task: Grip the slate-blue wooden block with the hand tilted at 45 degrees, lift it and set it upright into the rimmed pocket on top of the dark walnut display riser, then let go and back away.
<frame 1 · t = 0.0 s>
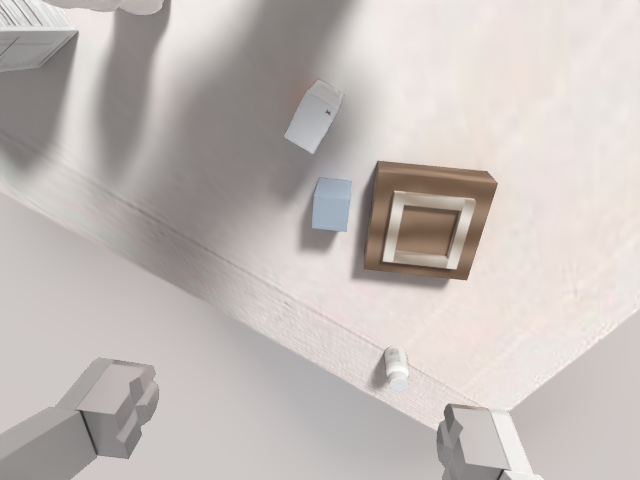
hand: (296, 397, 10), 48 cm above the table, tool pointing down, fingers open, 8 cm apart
display riser: (421, 215, 59), on the table
pill bottle: (395, 352, 74), on the table
skincare box: (320, 106, 53), on the table
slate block: (334, 194, 59), on the table
supplement box: (34, 18, 51), on the table
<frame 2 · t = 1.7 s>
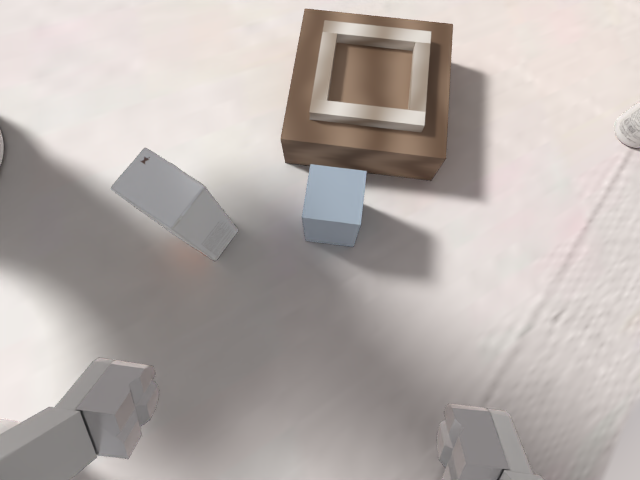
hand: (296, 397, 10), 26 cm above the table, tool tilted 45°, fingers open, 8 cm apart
display riser: (365, 108, 43), on the table
pill bottle: (630, 132, 42), on the table
skincare box: (206, 232, 39), on the table
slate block: (332, 221, 39), on the table
water bottle: (10, 455, 34), on the table
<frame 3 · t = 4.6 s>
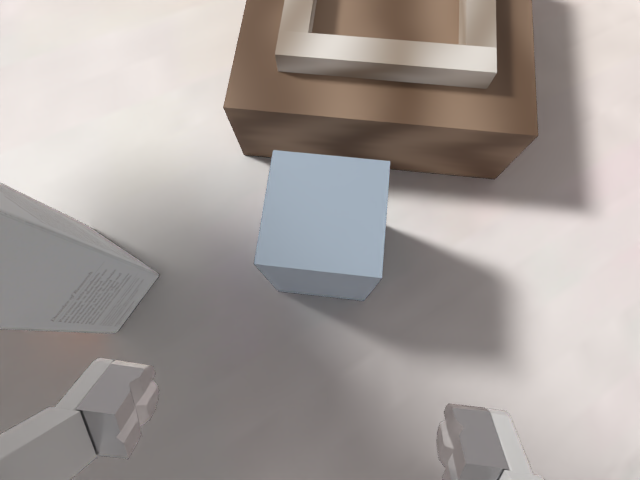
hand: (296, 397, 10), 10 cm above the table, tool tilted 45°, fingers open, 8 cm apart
display riser: (376, 63, 26), on the table
skincare box: (104, 279, 22), on the table
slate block: (325, 254, 22), on the table
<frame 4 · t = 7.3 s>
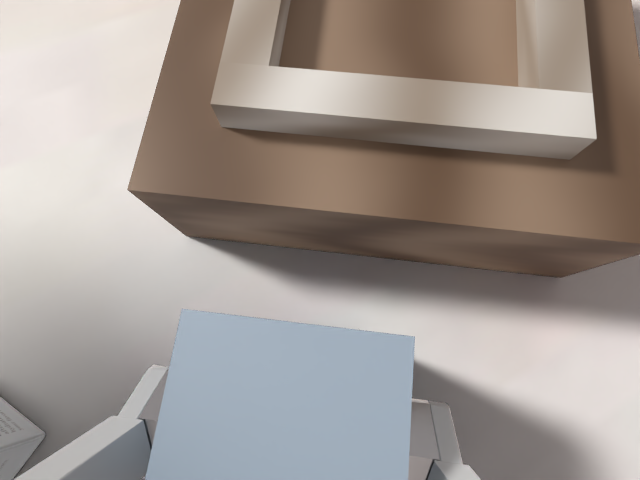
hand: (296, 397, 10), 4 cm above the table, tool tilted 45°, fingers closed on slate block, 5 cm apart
display riser: (382, 97, 18), on the table
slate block: (303, 400, 14), on the table, touching gripper
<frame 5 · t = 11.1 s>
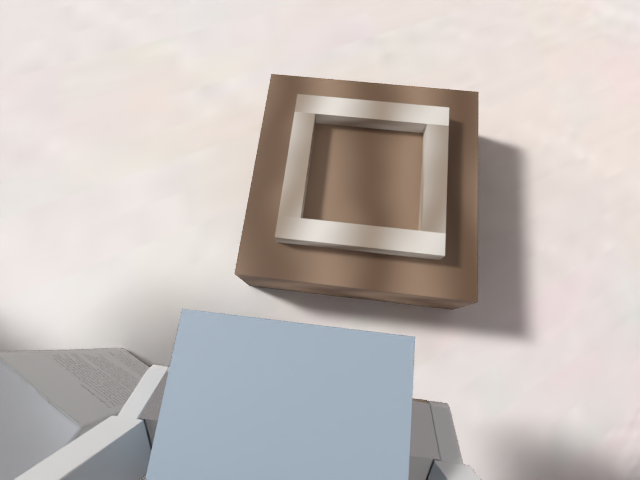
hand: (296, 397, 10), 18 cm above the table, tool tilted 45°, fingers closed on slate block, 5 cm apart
display riser: (358, 202, 32), on the table
skincare box: (137, 394, 28), on the table
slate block: (303, 400, 14), point 14 cm above the table, touching gripper
when the fingers open (10 cm above the table, at t = 15.0 s): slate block stays where it is, resting on display riser.
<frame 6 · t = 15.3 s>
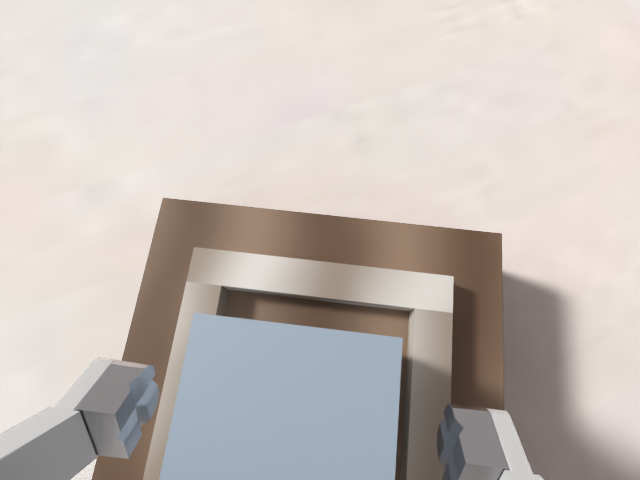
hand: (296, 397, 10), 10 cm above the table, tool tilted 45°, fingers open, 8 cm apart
display riser: (311, 385, 20), on the table
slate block: (303, 397, 15), point 5 cm above the table, touching display riser
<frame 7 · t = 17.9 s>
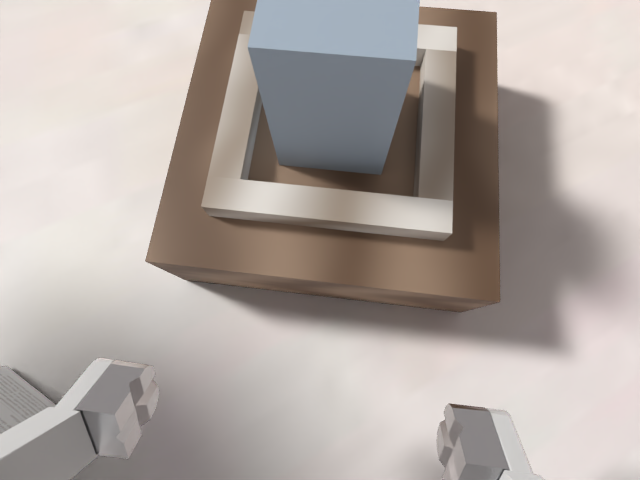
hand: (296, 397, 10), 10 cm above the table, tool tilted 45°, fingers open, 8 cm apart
display riser: (335, 170, 24), on the table
skincare box: (24, 430, 20), on the table
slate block: (335, 125, 19), point 5 cm above the table, touching display riser
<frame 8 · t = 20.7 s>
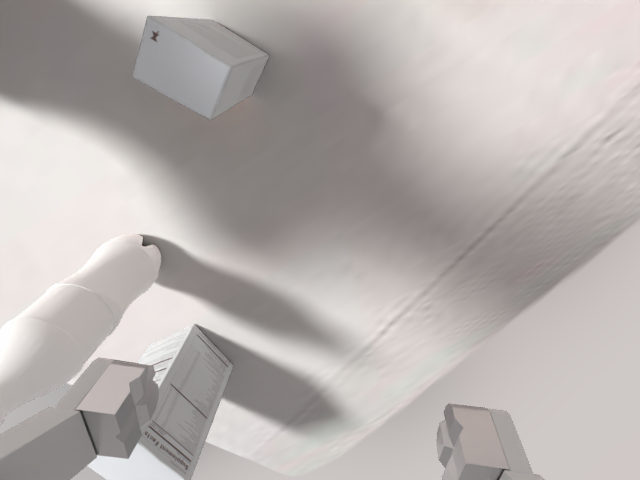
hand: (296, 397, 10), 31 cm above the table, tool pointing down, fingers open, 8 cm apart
skincare box: (234, 59, 35), on the table
supplement box: (192, 353, 55), on the table
water bottle: (141, 252, 47), on the table
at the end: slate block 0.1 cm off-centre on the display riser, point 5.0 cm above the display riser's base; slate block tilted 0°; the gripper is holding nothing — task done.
